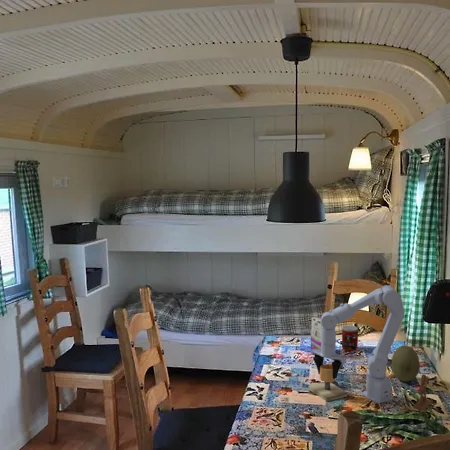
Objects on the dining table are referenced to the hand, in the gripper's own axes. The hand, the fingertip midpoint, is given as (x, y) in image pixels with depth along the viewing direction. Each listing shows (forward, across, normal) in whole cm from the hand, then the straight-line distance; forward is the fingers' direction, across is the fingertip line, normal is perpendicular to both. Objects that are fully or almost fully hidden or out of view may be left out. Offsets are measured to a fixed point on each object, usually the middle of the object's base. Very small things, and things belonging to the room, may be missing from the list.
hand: (327, 375), depth 192 cm
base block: (+7, 0, 0) cm, 7 cm away
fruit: (+7, -20, -32) cm, 38 cm away
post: (+5, 0, 0) cm, 5 cm away
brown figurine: (+7, -33, -14) cm, 36 cm away
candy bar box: (+7, +25, -38) cm, 46 cm away
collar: (+1, 0, 0) cm, 1 cm away
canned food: (+7, +16, -52) cm, 54 cm away
